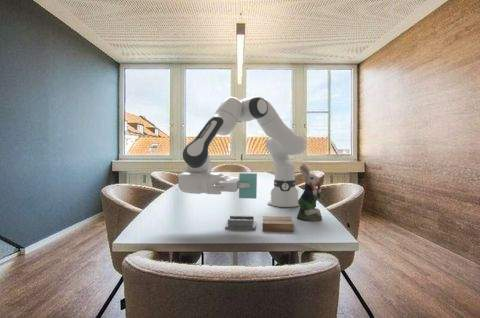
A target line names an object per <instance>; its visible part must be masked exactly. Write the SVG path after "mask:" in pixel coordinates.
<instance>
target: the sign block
mask: <svg viewBox="0 0 480 318" xmlns="http://www.w3.org/2000/svg"><path fill="white" fill-rule="evenodd" d="M238 174H239V183H250V187H249V188H238V198H239V199H250V200H251V199H257V196H258V195H257V193H258V189H257V188H258V181H257V180H258V173H257V172H256V173H253V172H249V173H248V172H239V173H238Z"/></svg>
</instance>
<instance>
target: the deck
mask: <svg viewBox="0 0 480 318" xmlns="http://www.w3.org/2000/svg"><path fill="white" fill-rule="evenodd" d="M261 229H262V232H286V233H293V232H294V222H293V218H292V216H271V215H270V216H266V215H264V216H262V228H261Z"/></svg>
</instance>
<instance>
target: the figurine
mask: <svg viewBox="0 0 480 318" xmlns="http://www.w3.org/2000/svg"><path fill="white" fill-rule="evenodd" d="M299 171H301V172H300V173H301V175H302V176H303V177H305V178H304V182H305V183H304V188H303V189H304V190H303V192H302V194H301V196H300V197H299V198H298V204H299V205H300V206H299V210H298V213H297V215H296V216H297V217H296V218H297V219H298V220H301V221H305V222H318V221H317V220H320V221H322V219H323V216H322V213H321V210H320V209H319V208H318V207H317V201H319V200H321V192H322V189H321V188H322V184H321V180H320V177H319V176H317V175H316V174H314V173H311V171H310V169H309V167H308V165H306V164H305V163H303V164H302V165H300V166H299ZM316 185H317V186H316ZM316 207H317V208H316Z"/></svg>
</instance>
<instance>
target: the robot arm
mask: <svg viewBox="0 0 480 318" xmlns="http://www.w3.org/2000/svg"><path fill="white" fill-rule="evenodd" d="M253 120H256V122H257V123H258V125H259V126H260V128H261V129H262V131H263V132H264V134H265V135H266V136H268V138H267V139H266V142H265V148H266V150H267V152H268V153H269V154H270V156H271V158H272V160H273V165H274V180H273V188H271V191H270V200H269V201H268V202H267V205H268V206H274V207H279V208H293V207H294V208H295V207H300V205H299V204H298V200H299V190H298V189H297V186H296V185H297V180H296V166H295V164H294V163H293V162H292V161H291V159H290V158H289V156H296V155H301V154H303V153H304V152H305V150H306V148H307V141H306V139H305V138H304V137H303V136H302V135H299V134H298V133H296V132H294V131H293V130H292V129H291V128H290V127H288V126H287V125H286V124H285V123H284V121H283V119H282V118H281V116H280V115H279V113H278V112H277V111H276V109H275V107H274V106H273V105H272V104H271V103H270V101H268V99H266V98H264V97H262V96H256V95H255V96H251V97H245V98H243V99H239V98H237V97H234V96H229V97H227V98H225V99H224V100H223V101H222V103H221V104H220V105H219V107H218V108H217V109H216V111H215V112H214V114H213V116H212V117H211V118H210V119H208V121H207V122H206V123H205V124H204V126H203V127H202V128H201V130H200V131H199V132H198V134H197V135H196V137H195V138H194V139H193V140H192V141H190V142H189V143H188V144H187V145H186V146H185V147H184V149H183V151H182V158H183V160H184V162H185V163H186V167H185V169H183V171H182V172H181V173H179V174H178V176H177V184H178V185H177V186H178V188H179V189H180V191H181V192H182V193H185V194H193V195H195V194H196V195H201V194H207V195H221V194H222V192H226V193H227V192H228V193H235V192H237V191H239V188H249V187H250V183H239V177H238V176H231V175H230V176H229V175H224V174H223V173H221V172H212V161H211V158H210V155H209V148H210V145H211V143H212V142H213V141H214V140H215V138H216V136H217V135H219V136H228V135H230V134H231V133H232V132H233V130H235V128H236V126H237V124H238V123H242V122H249V121H250V122H251V121H253Z"/></svg>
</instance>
